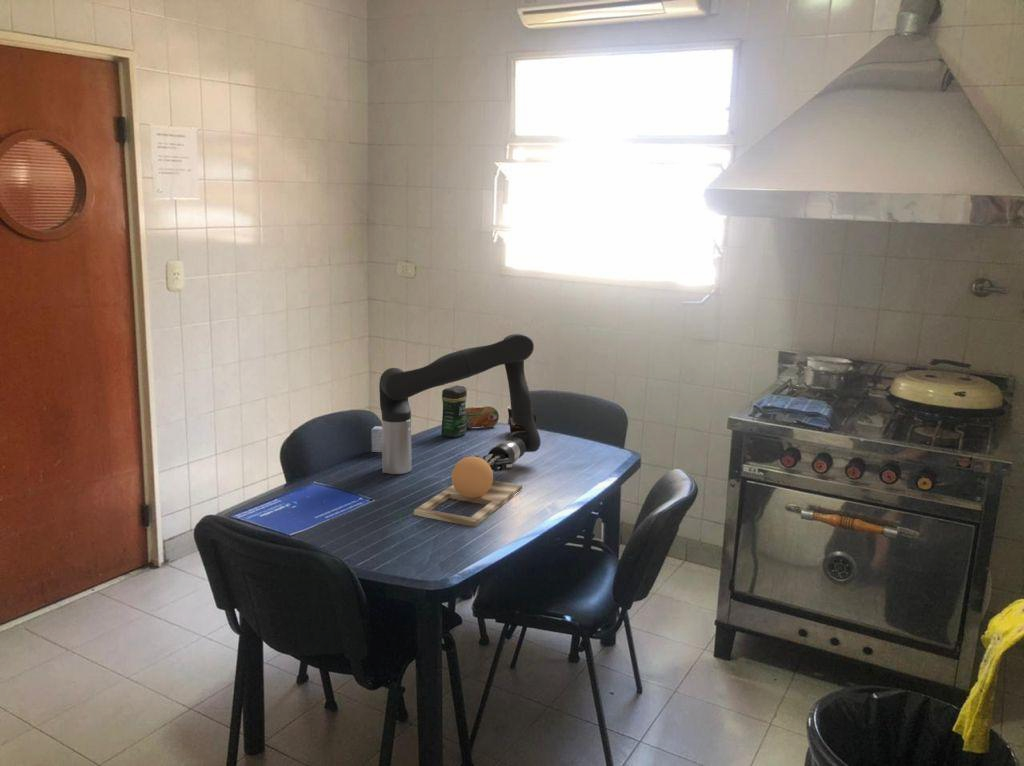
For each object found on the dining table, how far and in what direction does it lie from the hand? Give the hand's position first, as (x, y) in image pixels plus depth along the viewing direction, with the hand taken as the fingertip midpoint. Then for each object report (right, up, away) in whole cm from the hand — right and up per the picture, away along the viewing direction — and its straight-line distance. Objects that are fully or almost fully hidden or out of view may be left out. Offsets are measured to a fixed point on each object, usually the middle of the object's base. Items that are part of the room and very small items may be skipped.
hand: (480, 470), depth 239 cm
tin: (-3, +8, +74) cm, 75 cm away
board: (-3, -9, -4) cm, 10 cm away
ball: (-2, -1, -6) cm, 6 cm away
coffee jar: (-12, +6, +63) cm, 65 cm away
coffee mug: (+13, +6, +66) cm, 68 cm away
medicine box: (-35, +2, +41) cm, 54 cm away
